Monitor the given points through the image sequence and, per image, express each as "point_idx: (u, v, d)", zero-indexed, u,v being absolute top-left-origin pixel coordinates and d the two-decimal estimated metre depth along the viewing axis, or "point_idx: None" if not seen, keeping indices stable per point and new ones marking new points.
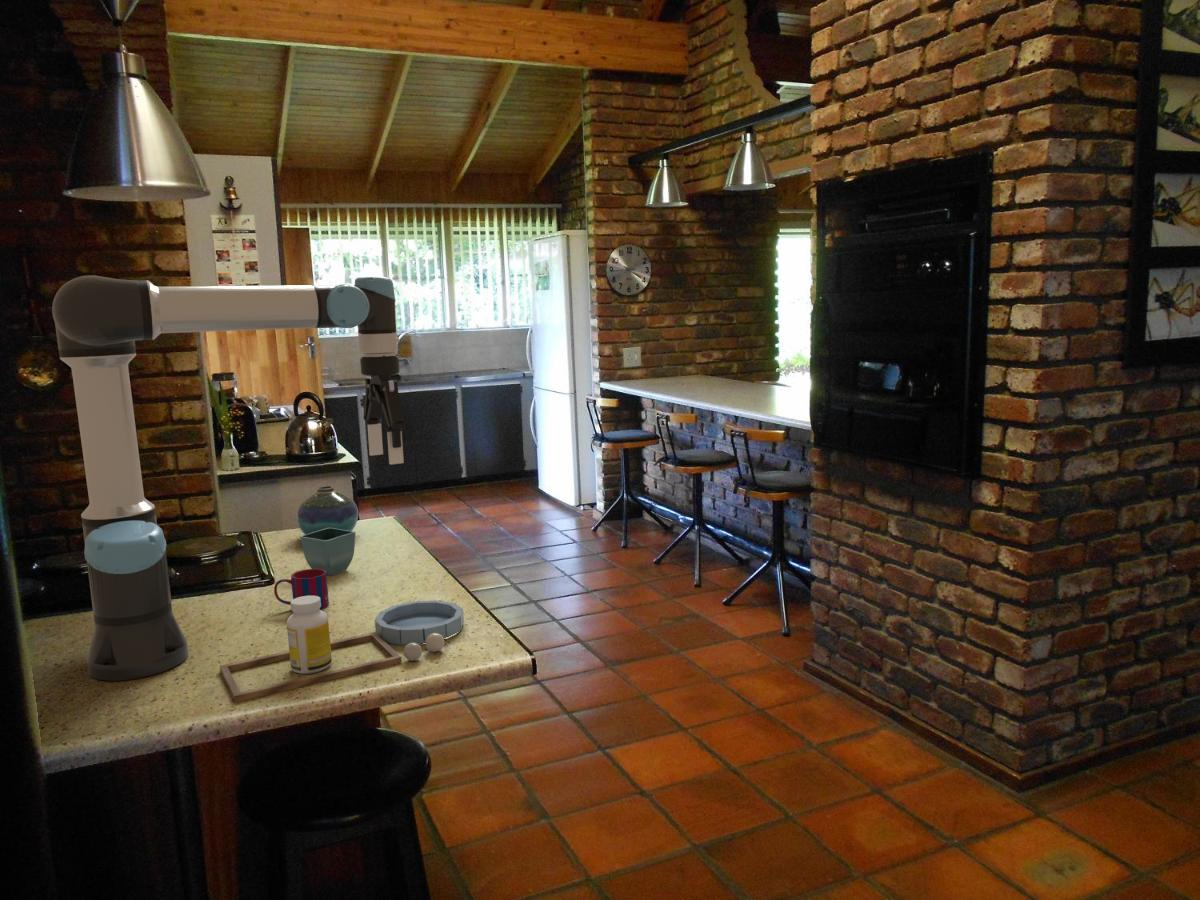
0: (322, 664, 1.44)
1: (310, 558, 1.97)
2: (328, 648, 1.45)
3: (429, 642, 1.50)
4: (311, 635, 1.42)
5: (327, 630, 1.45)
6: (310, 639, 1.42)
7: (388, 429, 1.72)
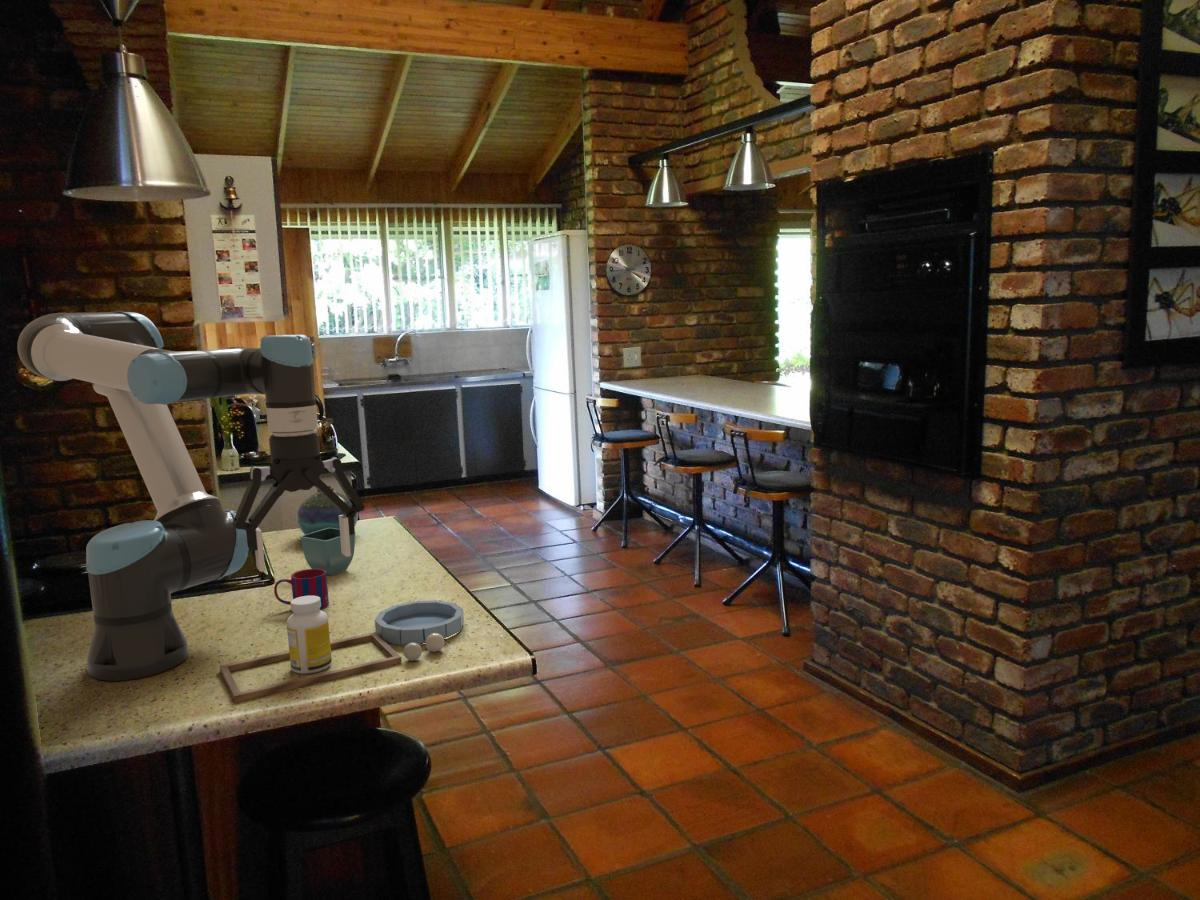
0: (322, 664, 1.44)
1: (310, 558, 1.97)
2: (328, 648, 1.45)
3: (429, 642, 1.50)
4: (311, 635, 1.42)
5: (327, 630, 1.45)
6: (310, 639, 1.42)
7: None
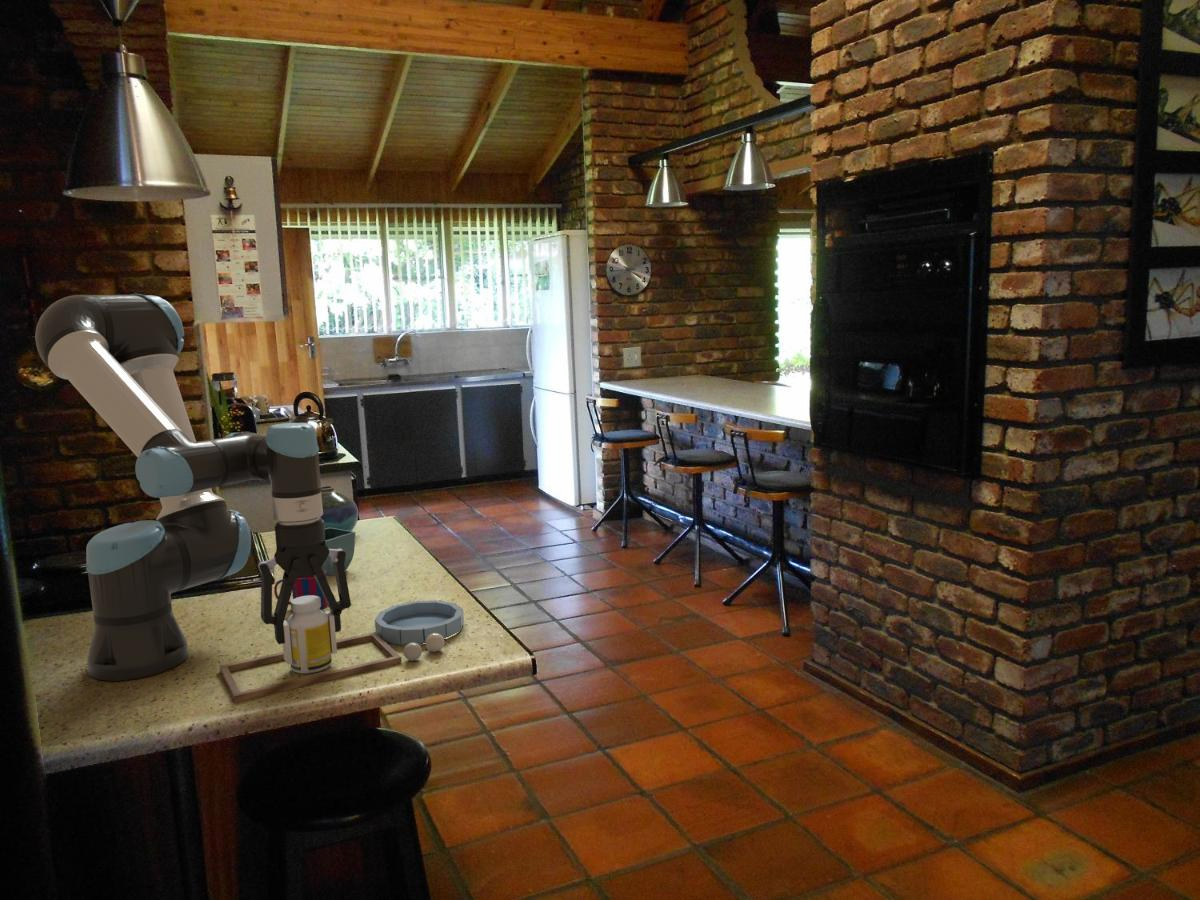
0: (322, 664, 1.44)
1: None
2: (328, 648, 1.45)
3: (429, 642, 1.50)
4: (311, 635, 1.42)
5: (327, 630, 1.45)
6: (310, 639, 1.42)
7: None
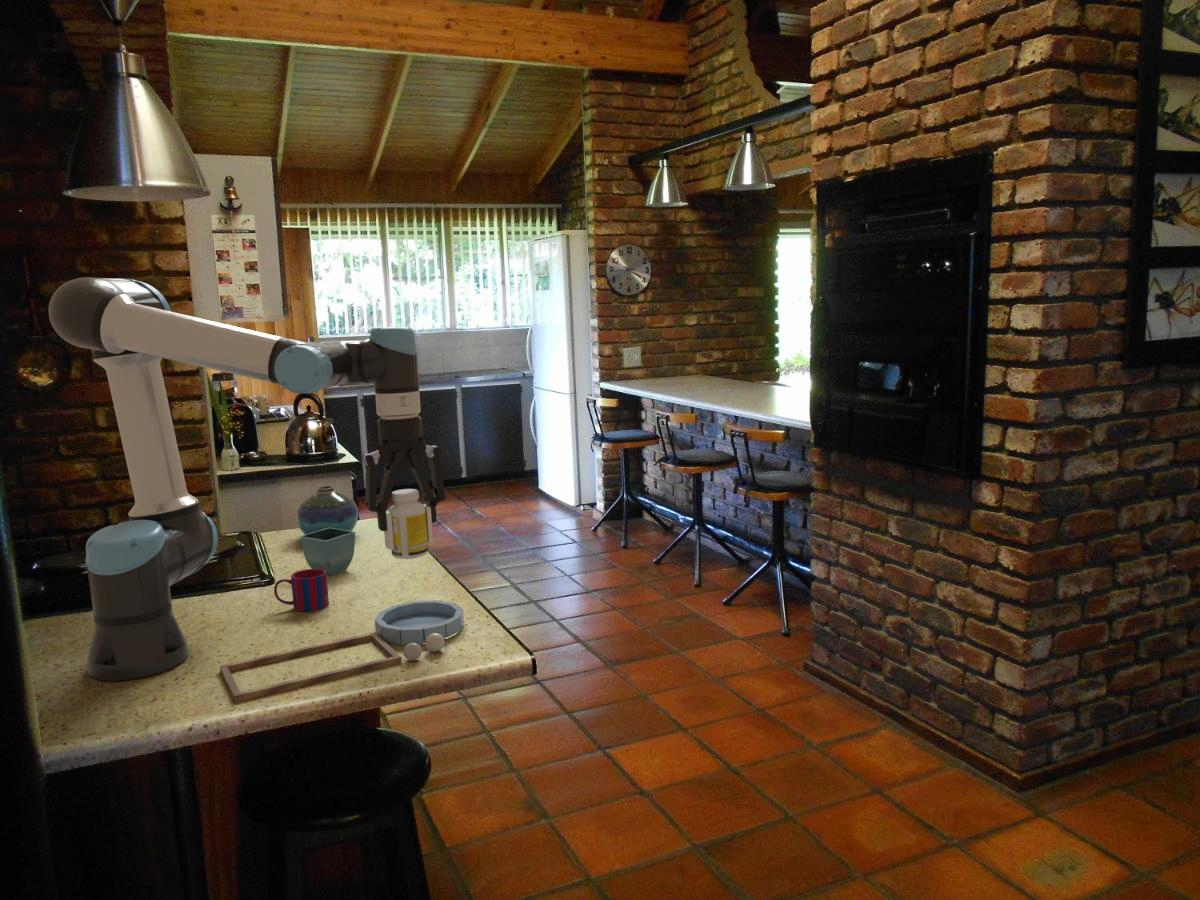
0: (421, 550, 1.56)
1: (310, 558, 1.97)
2: (426, 536, 1.57)
3: (429, 642, 1.50)
4: (411, 523, 1.54)
5: (425, 520, 1.57)
6: (411, 526, 1.54)
7: None
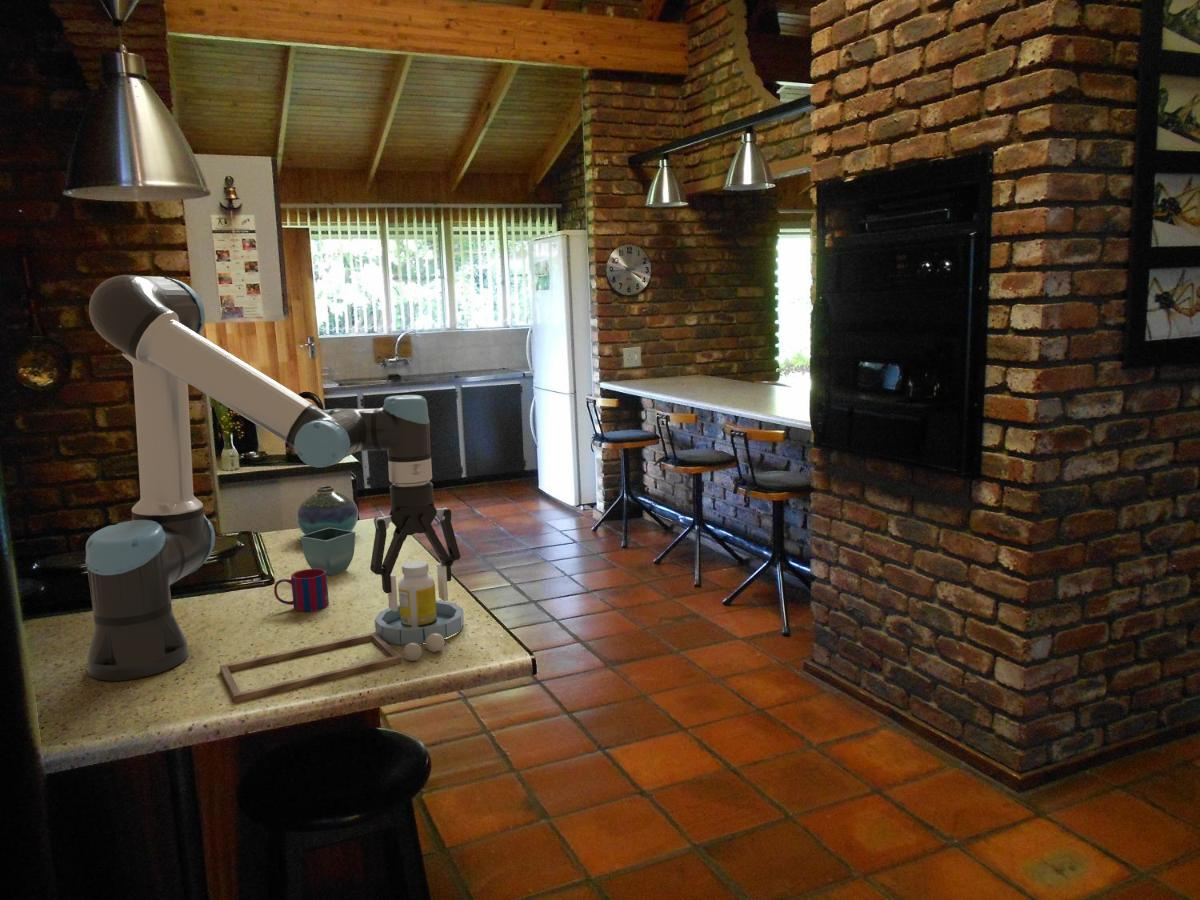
0: (430, 622, 1.59)
1: (310, 558, 1.97)
2: (435, 608, 1.61)
3: (429, 642, 1.50)
4: (421, 596, 1.58)
5: (434, 592, 1.60)
6: (420, 600, 1.58)
7: None
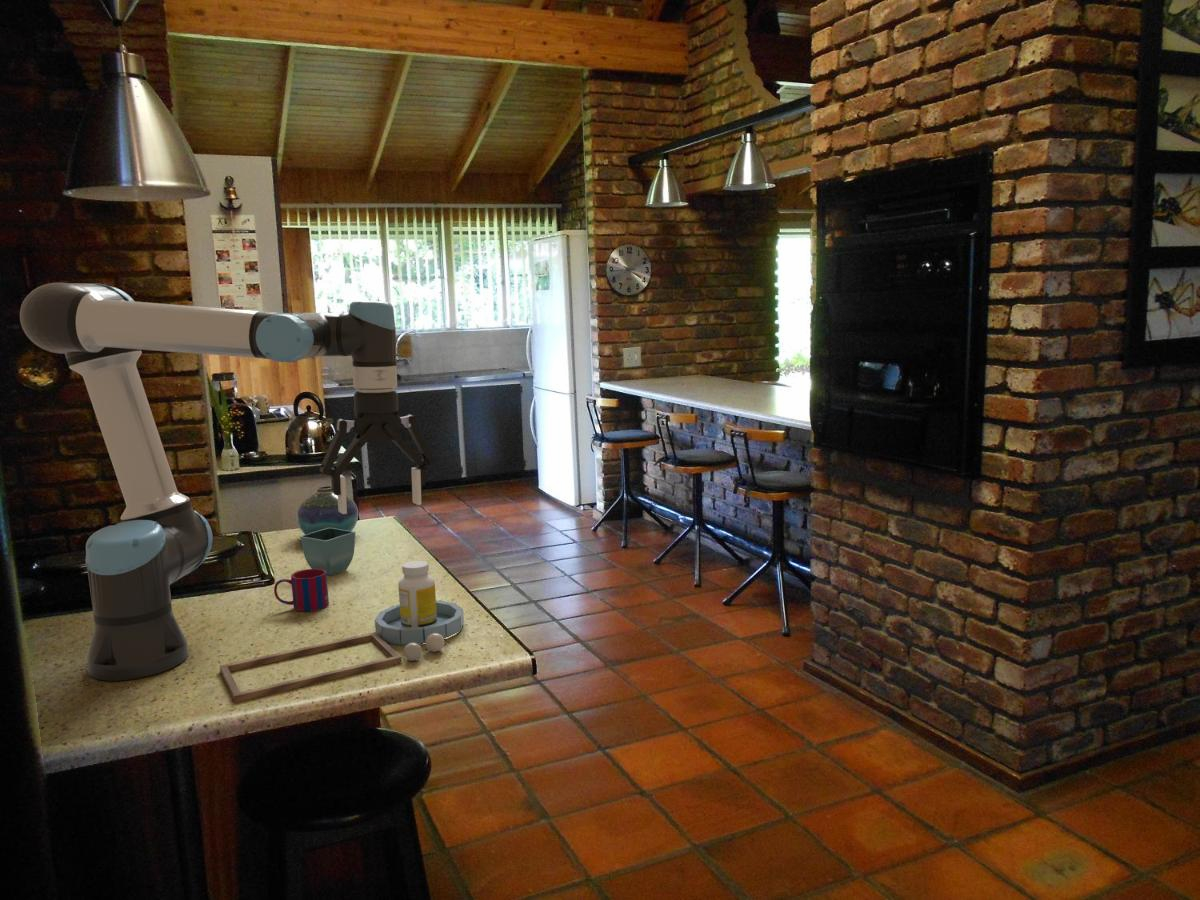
0: (430, 622, 1.59)
1: (310, 558, 1.97)
2: (435, 608, 1.61)
3: (429, 642, 1.50)
4: (421, 596, 1.58)
5: (434, 592, 1.60)
6: (420, 599, 1.58)
7: None
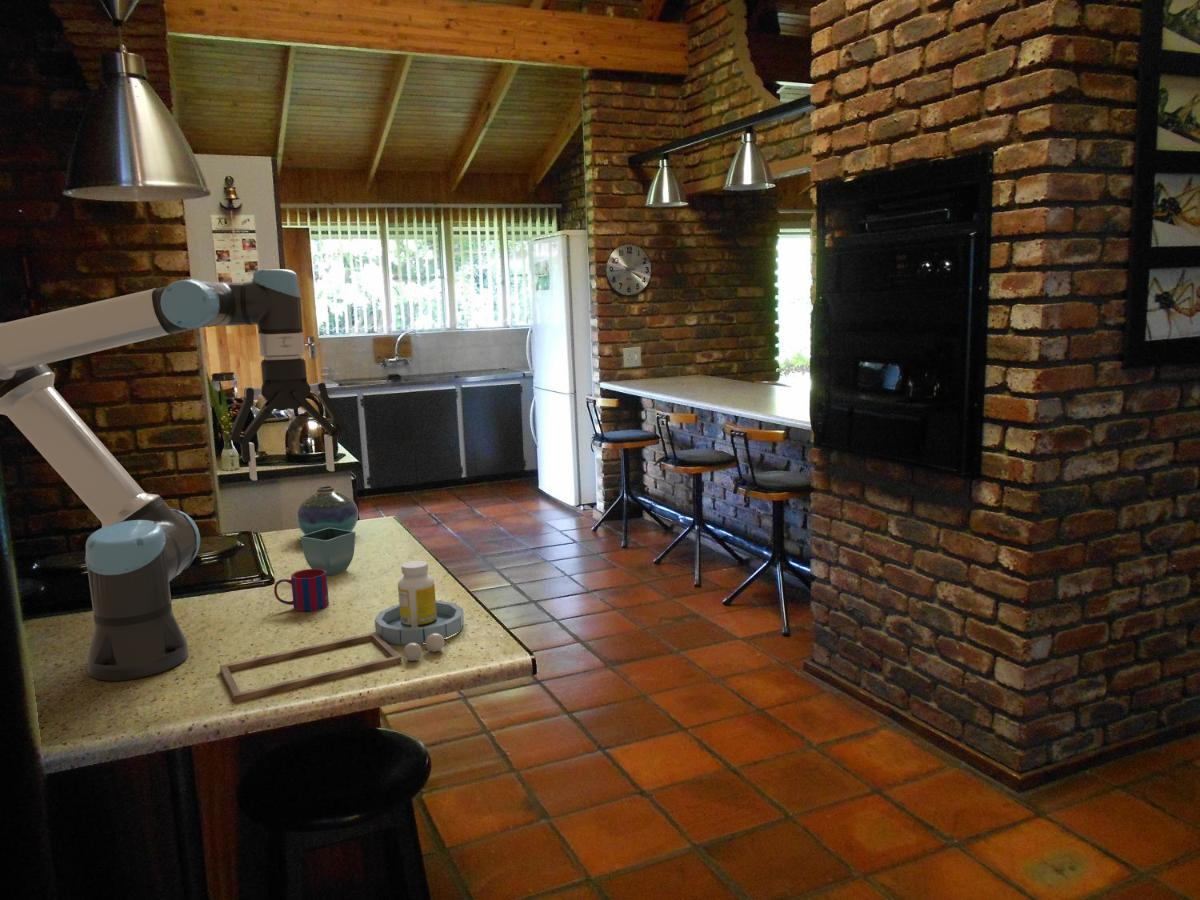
0: (430, 622, 1.59)
1: (310, 558, 1.97)
2: (434, 608, 1.61)
3: (429, 642, 1.50)
4: (421, 596, 1.58)
5: (434, 591, 1.60)
6: (420, 599, 1.58)
7: None
